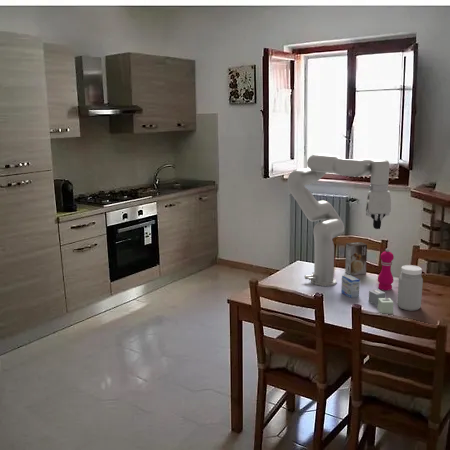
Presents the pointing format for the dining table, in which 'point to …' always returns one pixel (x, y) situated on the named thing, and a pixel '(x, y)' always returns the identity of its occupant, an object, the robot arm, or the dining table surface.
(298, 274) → the dining table surface
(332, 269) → the robot arm
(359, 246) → the coffee box
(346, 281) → the medicine box
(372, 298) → the slate block
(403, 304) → the jar
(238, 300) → the dining table surface
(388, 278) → the pepper mill
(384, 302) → the sage block
